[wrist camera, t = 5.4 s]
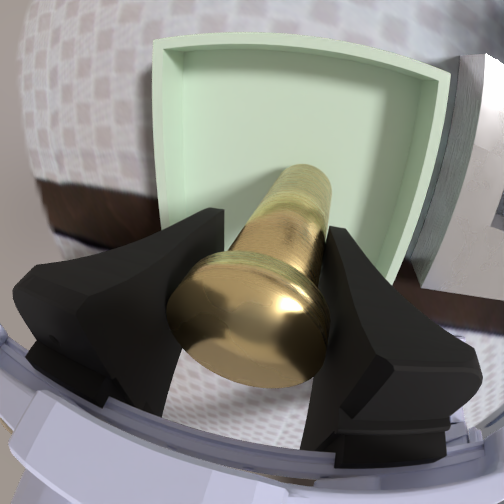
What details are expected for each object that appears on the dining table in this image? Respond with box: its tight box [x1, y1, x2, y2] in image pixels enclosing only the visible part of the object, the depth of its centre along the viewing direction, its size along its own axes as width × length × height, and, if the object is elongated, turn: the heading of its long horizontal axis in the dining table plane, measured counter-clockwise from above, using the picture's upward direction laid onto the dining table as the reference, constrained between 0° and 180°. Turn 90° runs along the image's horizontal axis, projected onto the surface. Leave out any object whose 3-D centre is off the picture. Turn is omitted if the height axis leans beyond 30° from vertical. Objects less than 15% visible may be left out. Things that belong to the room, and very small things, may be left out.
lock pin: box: [166, 164, 332, 388], centre depth 10 cm, size 4×4×10 cm
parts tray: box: [152, 32, 451, 285], centre depth 15 cm, size 16×14×3 cm
